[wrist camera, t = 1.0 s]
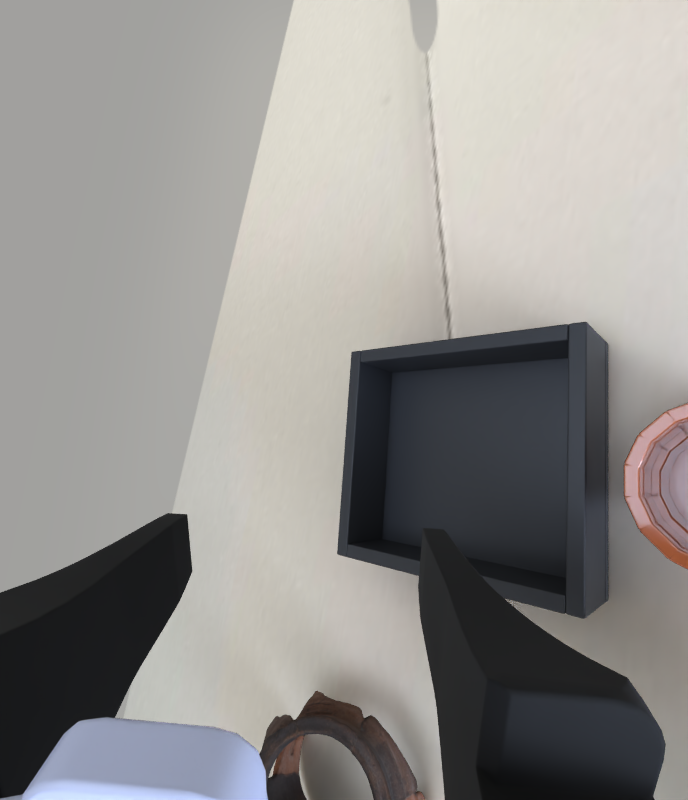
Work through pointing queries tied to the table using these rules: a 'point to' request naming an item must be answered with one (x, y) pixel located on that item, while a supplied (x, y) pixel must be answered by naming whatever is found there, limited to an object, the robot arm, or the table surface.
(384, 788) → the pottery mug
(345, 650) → the table surface
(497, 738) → the robot arm
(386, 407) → the tray
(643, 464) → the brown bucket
